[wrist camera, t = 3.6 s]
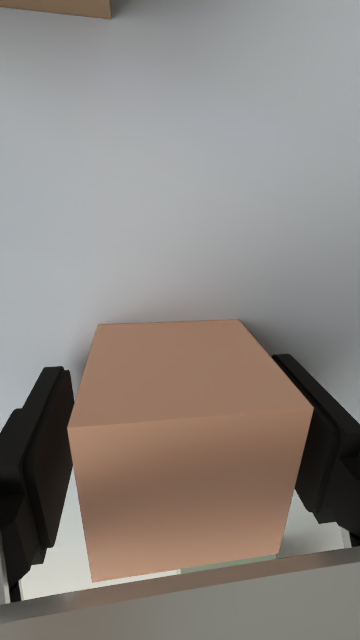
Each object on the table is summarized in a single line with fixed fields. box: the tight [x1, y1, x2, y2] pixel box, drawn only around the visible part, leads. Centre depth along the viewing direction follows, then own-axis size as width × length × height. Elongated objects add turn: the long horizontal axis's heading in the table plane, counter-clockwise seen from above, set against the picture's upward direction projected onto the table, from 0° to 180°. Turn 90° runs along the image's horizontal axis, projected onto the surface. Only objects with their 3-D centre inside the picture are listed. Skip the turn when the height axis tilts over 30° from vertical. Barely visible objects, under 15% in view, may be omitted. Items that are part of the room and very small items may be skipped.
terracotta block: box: [67, 319, 314, 582], centre depth 9 cm, size 5×5×5 cm
